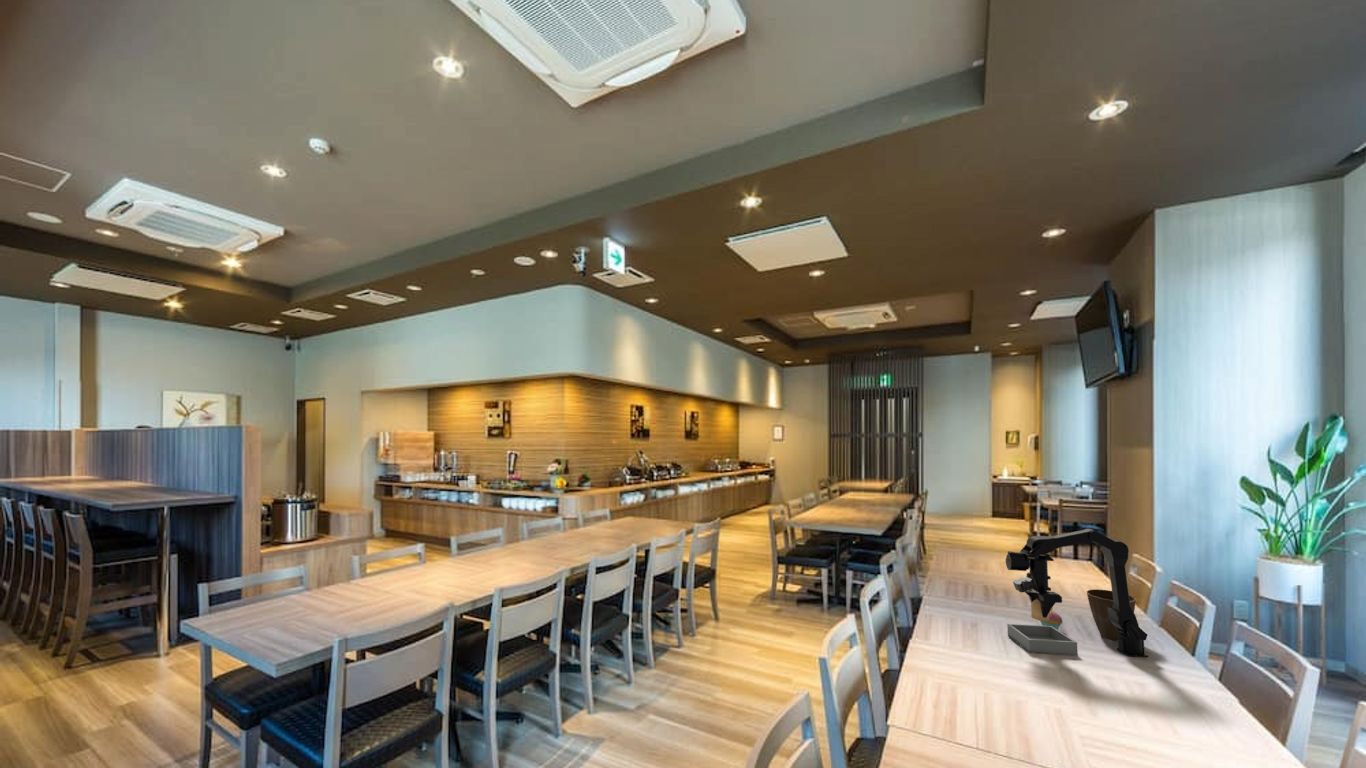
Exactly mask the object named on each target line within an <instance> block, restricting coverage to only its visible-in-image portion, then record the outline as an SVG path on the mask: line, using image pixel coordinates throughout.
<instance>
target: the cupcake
mask: <svg viewBox="0 0 1366 768" xmlns="http://www.w3.org/2000/svg"><path fill="white" fill-rule="evenodd" d="M1038 621H1039V622H1040V623H1041V624H1040V625H1041V626H1052V627H1054V628H1055V629H1057V630H1059V628H1060V626H1061V625H1062V624H1063V618H1062V616H1061V615H1059V614H1058V613H1057V612H1053V607H1052V608H1051V610H1050V612H1049V620H1048V621H1041V620H1038Z"/></svg>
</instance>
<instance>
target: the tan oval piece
mask: <svg viewBox="0 0 1366 768" xmlns="http://www.w3.org/2000/svg"><path fill="white" fill-rule="evenodd" d="M1030 608H1031V609H1030V611H1031V618H1032V619H1035V620H1037V621H1039V620H1041V621H1048V620H1049V614H1048V615H1047V617H1046V618H1044V617H1043V616H1042V611H1041V605H1040V602H1039V601H1038V600H1037V599H1036V600H1034V601H1033V602H1032V604H1031V605H1030ZM1041 621H1040V622H1041Z"/></svg>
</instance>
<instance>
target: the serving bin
mask: <svg viewBox="0 0 1366 768" xmlns="http://www.w3.org/2000/svg"><path fill="white" fill-rule="evenodd" d="M1006 627H1007V637H1008V638H1010V639H1011V638H1012V639H1011V640H1012V641H1013V642H1015V643H1016V642H1017V644H1018V646H1020V645H1021V646H1022V648H1023V649H1024V650H1025V649H1026V650H1025V651H1027V652H1028V653H1029V654H1043V655H1044V654H1045V655H1057V656H1058V655H1060V656H1061V655H1062V656H1078V655H1079V654H1078V642H1077V641H1076V640H1074V639H1072V638H1071V637H1069V636H1068V635H1067V634H1065V633H1063V632H1062V631H1060V630H1059V629H1058V630H1057V629H1055V628H1054V627H1052V626H1042V624H1040V625H1039V624H1037V625H1036V624H1021V623H1019V624H1017V623H1007V626H1006ZM1021 646H1020V647H1021Z"/></svg>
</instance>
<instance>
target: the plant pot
mask: <svg viewBox="0 0 1366 768" xmlns="http://www.w3.org/2000/svg"><path fill="white" fill-rule="evenodd" d="M1086 595H1087V599H1088V600H1087V601H1088V605H1089V608H1090V612H1091V614H1092V618H1093V621H1094V624H1095V625H1096V628H1097V630H1098V631H1099V632H1098V633H1099V634H1100V636H1101V637H1103V638H1104V639H1107V640H1111V641H1115V642H1118V638H1119V633H1121V632H1120V631H1118V630H1117V629H1116V626H1114V625H1113V624H1112V623H1111V620H1110V619H1108V616H1109V613H1108V610H1107V608H1112V606H1113V603H1114V602H1113V594H1112V590H1109V589H1098V588H1097V589H1095V588H1094V589H1089V590H1087V591H1086ZM1136 599H1137V598H1135V597H1134V596H1132V595H1129V601H1130V607H1131V609H1132V610H1133V612H1134V613H1135V609H1136V602H1137V601H1136Z"/></svg>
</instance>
